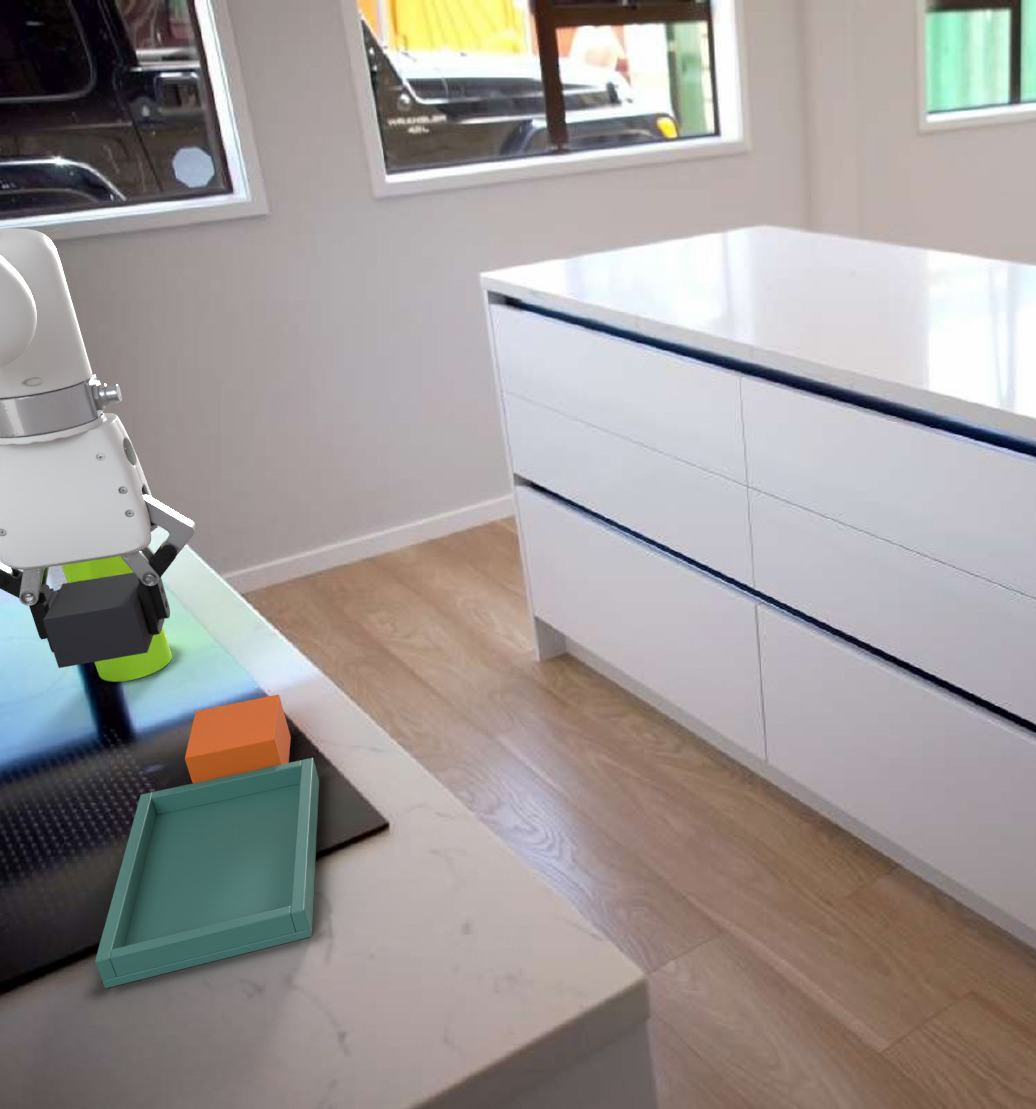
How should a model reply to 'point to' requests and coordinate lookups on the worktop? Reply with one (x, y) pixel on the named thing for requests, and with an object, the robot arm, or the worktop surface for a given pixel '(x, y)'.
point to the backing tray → (214, 873)
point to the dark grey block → (97, 621)
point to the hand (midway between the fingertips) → (109, 633)
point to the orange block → (237, 739)
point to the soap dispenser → (126, 665)
